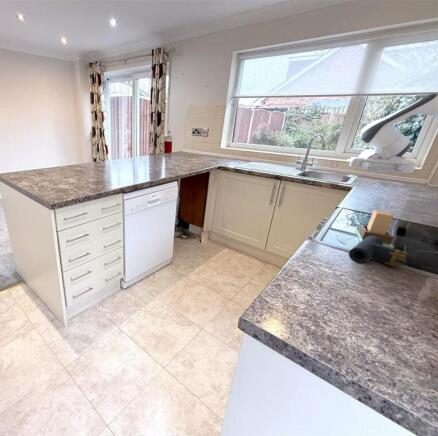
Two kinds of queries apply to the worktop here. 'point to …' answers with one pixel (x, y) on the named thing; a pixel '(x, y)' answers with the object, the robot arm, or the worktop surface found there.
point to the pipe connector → (376, 252)
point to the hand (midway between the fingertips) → (384, 167)
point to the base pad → (385, 238)
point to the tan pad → (379, 222)
